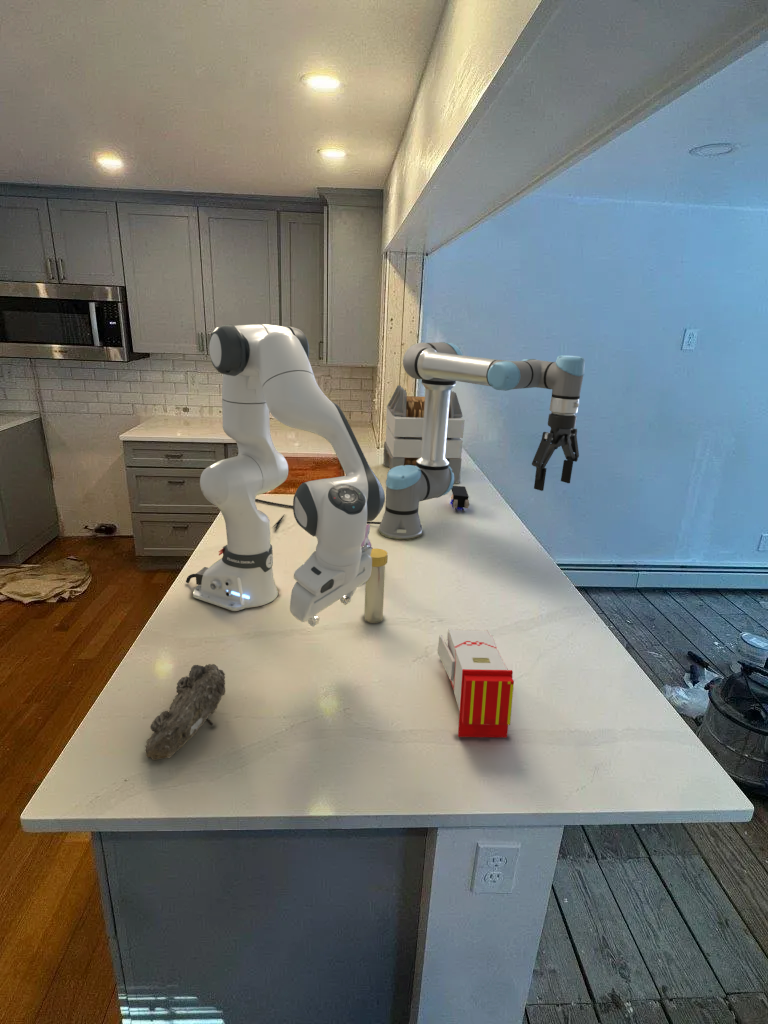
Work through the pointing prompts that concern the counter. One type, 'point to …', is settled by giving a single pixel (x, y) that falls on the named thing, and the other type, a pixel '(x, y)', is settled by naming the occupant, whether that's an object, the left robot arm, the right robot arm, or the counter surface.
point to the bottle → (374, 595)
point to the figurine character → (459, 498)
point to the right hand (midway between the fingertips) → (552, 485)
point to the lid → (379, 557)
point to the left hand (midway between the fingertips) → (329, 612)
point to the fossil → (186, 710)
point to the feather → (278, 523)
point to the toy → (478, 682)
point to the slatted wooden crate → (419, 431)
